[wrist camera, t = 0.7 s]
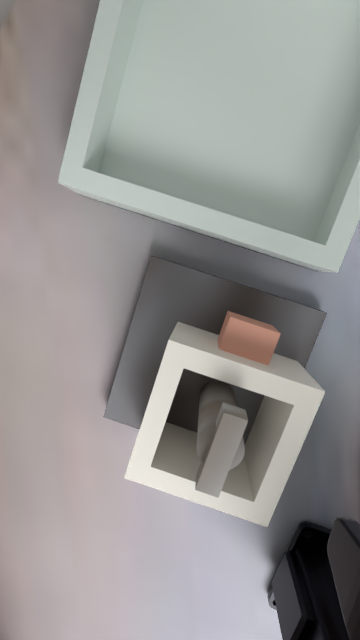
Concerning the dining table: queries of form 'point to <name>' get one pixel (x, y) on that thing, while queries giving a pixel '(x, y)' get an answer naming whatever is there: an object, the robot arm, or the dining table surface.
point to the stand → (193, 388)
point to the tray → (226, 121)
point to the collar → (267, 431)
